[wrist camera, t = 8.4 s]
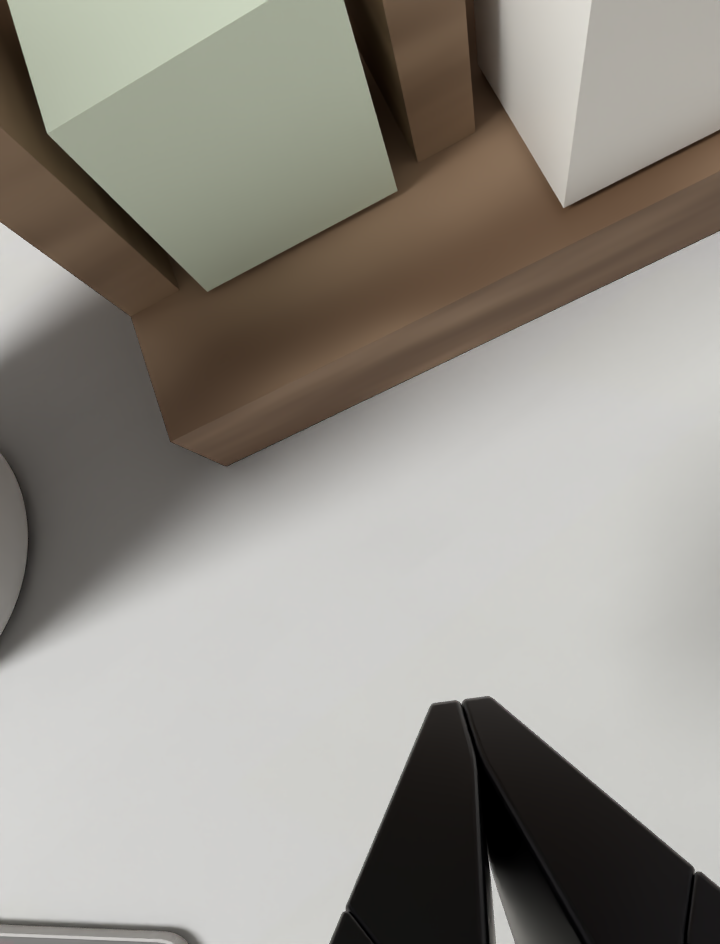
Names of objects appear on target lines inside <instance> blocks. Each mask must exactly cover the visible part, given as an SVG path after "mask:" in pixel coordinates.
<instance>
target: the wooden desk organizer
mask: <svg viewBox="0 0 720 944" xmlns="http://www.w3.org/2000/svg"><path fill="white" fill-rule="evenodd" d="M344 3H345V7H346V10H347V14H348V17H349V21H350V25H351V28H352V32H353V35H354V39H355V42H356V46H357V49H358V53H359V56H360V60H361V63H362V67H363V70H364V74H365V77H366V81H367V84H368V88H369V92H370V95H371V99H372V102H373V106H374V109H375V113H376V116H377V120H378V123H379V127H380V130H381V134H382V137H383V141H384V144H385V148H386V152H387V155H388V159H389V162H390V166H391V169H392V173H393V176H394V180H395V183H396V187H397V190H398V191H397V192H395V193H393V194H391V195H389V196H387V197H385V198H383V199H382V200H380V201H378V202H376V203H374V204H372V205H370V206H368V207H366V208H365V209H363V210H361V211H359V212H357V213H355V214H353V215H351V216H349V217H348V218H346V219H344V220H342V221H340V222H338V223H336V224H334V225H332V226H331V227H329V228H327V229H325V230H323V231H321V232H319V233H317V234H315V235H314V236H312V237H310V238H308V239H306V240H304V241H302V242H300V243H299V244H297V245H295V246H293V247H291V248H289V249H287V250H285V251H283V252H282V253H280V254H278V255H276V256H274V257H272V258H270V259H268V260H266V261H265V262H263V263H261V264H259V265H257V266H255V267H253V268H251V269H249V270H248V271H246V272H244V273H242V274H240V275H238V276H236V277H234V278H232V279H231V280H229V281H227V282H225V283H223V284H221V285H219V286H217V287H216V288H214V289H212V290H210V291H208V292H207V291H206V290H205V289H204V288H203V287H202V286H201V285H200V284H199V283H198V282H197V281H196V280H195V279H194V278H193V277H192V276H191V275H190V274H189V273H188V272H187V271H186V270H185V269H184V268H183V267H182V266H181V265H180V264H179V263H178V262H177V261H175V260H174V259H173V258H172V257H171V256H170V255H169V254H168V253H167V252H166V251H165V250H164V249H163V248H162V247H161V246H160V245H159V244H158V243H157V242H156V241H155V240H154V239H153V238H152V237H151V236H150V235H149V234H148V233H147V232H146V231H145V230H144V229H143V228H142V227H141V226H140V225H139V224H138V223H137V222H136V221H135V220H134V219H133V218H132V217H131V216H130V215H129V214H128V213H127V212H126V211H125V210H124V209H123V208H122V207H121V206H120V205H119V204H118V203H117V202H116V201H115V200H114V199H113V198H112V197H111V196H110V195H109V194H108V193H107V192H106V191H105V190H104V189H103V188H102V187H101V186H100V185H99V184H98V183H97V182H96V181H95V180H94V179H93V178H92V177H91V176H90V175H88V174H87V173H86V172H85V171H84V170H83V169H82V168H81V167H80V166H79V165H78V164H77V163H76V162H75V161H74V160H73V159H72V158H71V157H70V156H69V155H68V154H67V153H66V152H65V151H64V150H63V149H62V148H61V147H60V146H59V145H58V144H57V143H56V142H55V141H54V140H53V139H52V138H51V137H50V136H49V135H48V134H47V132H46V128H45V125H44V122H43V118H42V115H41V112H40V108H39V105H38V102H37V98H36V95H35V92H34V88H33V85H32V82H31V78H30V75H29V72H28V68H27V65H26V62H25V58H24V55H23V52H22V48H21V45H20V42H19V38H18V35H17V32H16V28H15V25H14V22H13V18H12V15H11V12H10V8H9V5H8V2H7V0H0V222H1V223H2V224H4V225H5V226H7V227H8V228H9V229H11V230H12V231H13V232H15V233H16V234H18V235H19V236H20V237H22V238H23V239H24V240H26V241H27V242H29V243H30V244H31V245H33V246H34V247H35V248H37V249H38V250H40V251H41V252H42V253H44V254H45V255H47V256H48V257H49V258H51V259H52V260H53V261H55V262H56V263H58V264H59V265H60V266H62V267H63V268H64V269H66V270H67V271H69V272H70V273H71V274H73V275H74V276H75V277H77V278H78V279H80V280H81V281H82V282H84V283H85V284H87V285H88V286H89V287H91V288H92V289H93V290H95V291H96V292H98V293H99V294H100V295H102V296H103V297H104V298H106V299H107V300H109V301H110V302H111V303H113V304H114V305H115V306H117V307H118V308H120V309H121V310H122V311H124V312H125V313H127V314H128V315H129V316H131V319H132V322H133V325H134V329H135V332H136V335H137V338H138V341H139V344H140V347H141V351H142V354H143V357H144V360H145V363H146V366H147V370H148V373H149V376H150V379H151V382H152V385H153V389H154V392H155V395H156V398H157V401H158V404H159V408H160V411H161V414H162V417H163V420H164V423H165V426H166V430H167V433H168V436H169V439H170V442H172V443H174V444H176V445H179V446H181V447H183V448H185V449H188V450H190V451H192V452H195V453H197V454H199V455H201V456H204V457H206V458H208V459H210V460H213V461H215V462H217V463H219V464H222V465H224V466H228V465H230V464H232V463H235V462H237V461H239V460H241V459H243V458H245V457H247V456H249V455H251V454H253V453H255V452H258V451H260V450H262V449H264V448H266V447H268V446H270V445H272V444H274V443H276V442H278V441H281V440H283V439H285V438H287V437H289V436H291V435H293V434H295V433H297V432H299V431H301V430H304V429H306V428H308V427H310V426H312V425H314V424H316V423H318V422H320V421H322V420H324V419H327V418H329V417H331V416H333V415H335V414H337V413H339V412H341V411H343V410H345V409H348V408H350V407H352V406H354V405H356V404H358V403H360V402H362V401H364V400H366V399H368V398H371V397H373V396H375V395H377V394H379V393H381V392H383V391H385V390H387V389H389V388H391V387H394V386H396V385H398V384H400V383H402V382H404V381H406V380H408V379H410V378H412V377H414V376H417V375H419V374H421V373H423V372H425V371H427V370H429V369H431V368H433V367H435V366H437V365H440V364H442V363H444V362H446V361H448V360H450V359H452V358H454V357H456V356H458V355H460V354H463V353H465V352H467V351H469V350H471V349H473V348H475V347H477V346H479V345H481V344H483V343H486V342H488V341H490V340H492V339H494V338H496V337H498V336H500V335H502V334H504V333H506V332H509V331H511V330H513V329H515V328H517V327H519V326H521V325H523V324H525V323H527V322H529V321H532V320H534V319H536V318H538V317H540V316H542V315H544V314H546V313H548V312H550V311H552V310H555V309H557V308H559V307H561V306H563V305H565V304H567V303H569V302H571V301H573V300H575V299H578V298H580V297H582V296H584V295H586V294H588V293H590V292H592V291H594V290H596V289H599V288H601V287H603V286H605V285H607V284H609V283H611V282H613V281H615V280H617V279H619V278H622V277H624V276H626V275H628V274H630V273H632V272H634V271H636V270H638V269H640V268H642V267H645V266H647V265H649V264H651V263H653V262H655V261H657V260H659V259H661V258H663V257H665V256H668V255H670V254H672V253H674V252H676V251H678V250H680V249H682V248H684V247H686V246H688V245H691V244H693V243H695V242H697V241H699V240H701V239H703V238H705V237H707V236H709V235H711V234H714V233H716V232H718V231H720V130H718V131H716V132H714V133H712V134H710V135H708V136H706V137H704V138H702V139H700V140H698V141H696V142H694V143H692V144H690V145H688V146H686V147H684V148H682V149H680V150H678V151H676V152H674V153H672V154H670V155H668V156H666V157H664V158H662V159H660V160H658V161H656V162H654V163H652V164H650V165H648V166H646V167H644V168H642V169H640V170H638V171H636V172H634V173H632V174H630V175H628V176H626V177H624V178H622V179H620V180H618V181H617V182H615V183H613V184H611V185H609V186H607V187H605V188H603V189H601V190H599V191H597V192H595V193H593V194H591V195H589V196H587V197H585V198H583V199H581V200H579V201H577V202H575V203H573V204H571V205H569V206H567V207H565V208H563V206H562V205H561V203H560V201H559V199H558V198H557V196H556V194H555V193H554V191H553V189H552V188H551V186H550V184H549V183H548V181H547V179H546V178H545V176H544V174H543V173H542V171H541V169H540V168H539V166H538V164H537V163H536V161H535V159H534V158H533V156H532V154H531V152H530V151H529V149H528V147H527V146H526V144H525V142H524V141H523V139H522V137H521V136H520V134H519V132H518V131H517V129H516V127H515V126H514V124H513V122H512V121H511V119H510V117H509V116H508V114H507V112H506V111H505V109H504V107H503V106H502V104H501V102H500V100H499V99H498V97H497V95H496V94H495V92H494V90H493V89H492V87H491V85H490V84H489V82H488V80H487V79H486V77H485V75H484V74H483V72H482V70H481V69H480V67H479V65H478V61H477V45H476V29H475V14H474V0H344Z"/></svg>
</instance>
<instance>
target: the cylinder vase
mask: <svg viewBox="0 0 720 944" xmlns="http://www.w3.org/2000/svg"><path fill="white" fill-rule="evenodd" d="M27 550H28V527H27V517H26V510H25V505H24V501H23V497H22V493H21V490H20V487H19V485H18V482H17V480H16V478H15V475H14V473H13V471H12V469H11V468H10V466H9V464H8V463H7V461H6V460H5V458H4V457H3V456H2V454H1V453H0V635H1V633H2V632H3V630H4V628H5V626H6V624H7V622H8V620H9V618H10V616H11V614H12V611H13V609H14V606H15V604H16V601H17V598H18V595H19V592H20V589H21V585H22V581H23V577H24V572H25V567H26V560H27Z"/></svg>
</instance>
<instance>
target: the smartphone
mask: <svg viewBox="0 0 720 944" xmlns="http://www.w3.org/2000/svg"><path fill="white" fill-rule="evenodd" d="M0 944H189V943H188V942H187V941H186V940H185V939H184V938H183V937H181V936H180V935H178V934H175V933H172V932H167V931H149V930H125V929H101V928H76V927H52V926H28V925H3V924H0Z"/></svg>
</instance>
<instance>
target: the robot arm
mask: <svg viewBox="0 0 720 944" xmlns="http://www.w3.org/2000/svg"><path fill="white" fill-rule="evenodd" d="M488 858H489V859H488ZM489 862H490V866H491V870H492V873H493V877H494V880H495V883H496V887H497V890H498V893H499V896H500V899H501V902H502V905H503V908H504V911H505V914H506V917H507V920H508V923H509V926H510V929H511V932H512V935H513V938H514V941H515V944H720V887H719V886H717V885H716V884H715V883H714V882H713V881H711V880H710V879H709V878H708V877H707V876H706V875H704V874H703V873H702V872H699V871H698V872H696V873H695V870H694V867H693V866H692V865H691V864H690V863H688V862H687V861H686V860H685V859H684V858H682V857H681V856H680V855H679V854H678V853H676V852H675V851H674V850H673V849H672V848H671V847H669V846H668V845H667V844H666V843H665V842H663V841H662V840H661V839H660V838H659V837H657V836H656V835H655V834H654V833H653V832H652V831H650V830H649V829H648V828H647V827H646V826H644V825H643V824H642V823H641V822H640V821H638V820H637V819H636V818H635V817H634V816H632V815H631V814H630V813H629V812H628V811H627V810H625V809H624V808H623V807H622V806H621V805H619V804H618V803H617V802H616V801H615V800H613V799H612V798H611V797H610V796H609V795H608V794H606V793H605V792H604V791H603V790H602V789H600V788H599V787H598V786H597V785H596V784H594V783H593V782H592V781H591V780H590V779H588V778H587V777H586V776H585V775H584V774H583V773H581V772H580V771H579V770H578V769H577V768H575V767H574V766H573V765H572V764H571V763H569V762H568V761H567V760H566V759H565V758H564V757H562V756H561V755H560V754H559V753H558V752H556V751H555V750H554V749H553V748H552V747H550V746H549V745H548V744H547V743H546V742H544V741H543V740H542V739H541V738H540V737H539V736H537V735H536V734H535V733H534V732H533V731H531V730H530V729H529V728H528V727H527V726H525V725H524V724H523V723H522V722H521V721H520V720H518V719H517V718H516V717H515V716H514V715H512V714H511V713H510V712H509V711H508V710H506V709H505V708H504V707H503V706H502V705H500V704H499V703H498V702H497V701H496V700H495V699H493V698H491V697H489V696H485V697H477V698H470V699H465V700H464V701H463V702H462V705H461V703H460V702H459V701H456V700H454V701H446V702H438V703H433V704H432V705H431V706H430V708H429V710H428V712H427V715H426V717H425V719H424V722H423V724H422V727H421V729H420V731H419V734H418V736H417V738H416V741H415V743H414V746H413V748H412V750H411V753H410V755H409V757H408V760H407V762H406V765H405V767H404V769H403V772H402V774H401V776H400V779H399V781H398V784H397V786H396V788H395V791H394V793H393V795H392V798H391V800H390V803H389V805H388V807H387V810H386V812H385V814H384V817H383V819H382V822H381V824H380V826H379V829H378V831H377V834H376V836H375V838H374V841H373V843H372V845H371V848H370V850H369V853H368V855H367V857H366V860H365V862H364V864H363V867H362V869H361V872H360V874H359V876H358V879H357V881H356V883H355V886H354V888H353V891H352V893H351V895H350V898H349V900H348V902H347V905H346V911H345V912H343V913H342V914H341V917H340V919H339V922H338V924H337V926H336V929H335V931H334V933H333V936H332V938H331V941H330V943H329V944H496V936H495V924H494V912H493V899H492V887H491V878H490V868H489Z"/></svg>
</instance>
